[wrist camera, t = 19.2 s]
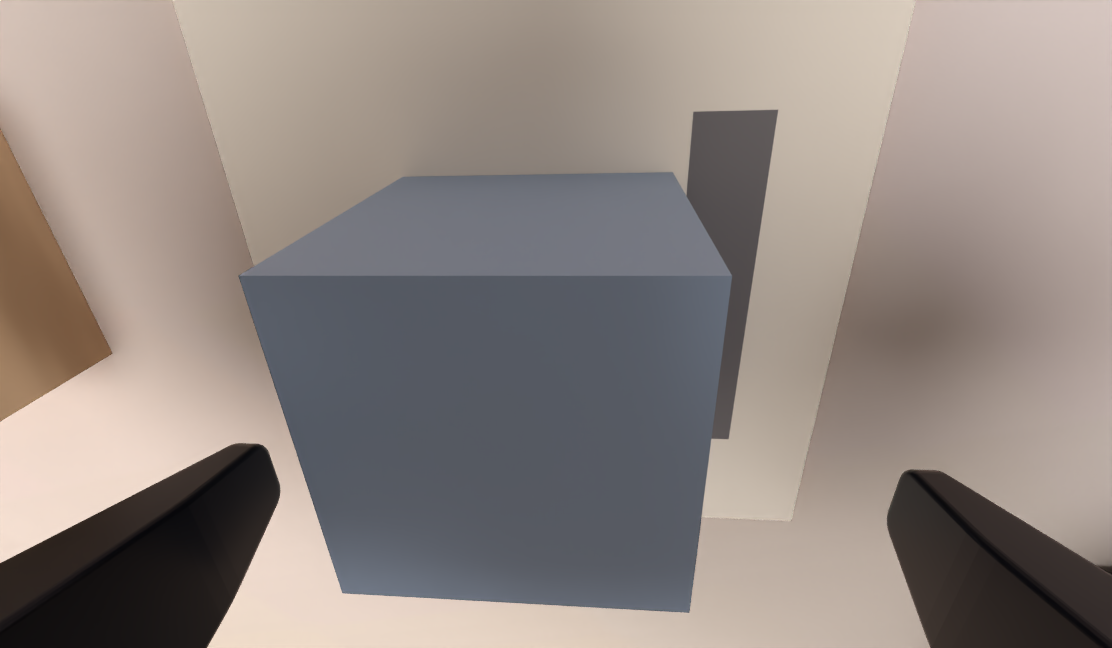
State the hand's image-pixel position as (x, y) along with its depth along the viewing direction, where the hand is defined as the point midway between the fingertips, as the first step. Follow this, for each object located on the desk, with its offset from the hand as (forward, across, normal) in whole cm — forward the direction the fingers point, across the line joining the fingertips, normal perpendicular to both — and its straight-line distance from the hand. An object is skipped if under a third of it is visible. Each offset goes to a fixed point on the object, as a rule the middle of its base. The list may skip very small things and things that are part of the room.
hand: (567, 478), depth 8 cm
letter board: (+5, +1, -1) cm, 5 cm away
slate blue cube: (+4, +1, -1) cm, 4 cm away
